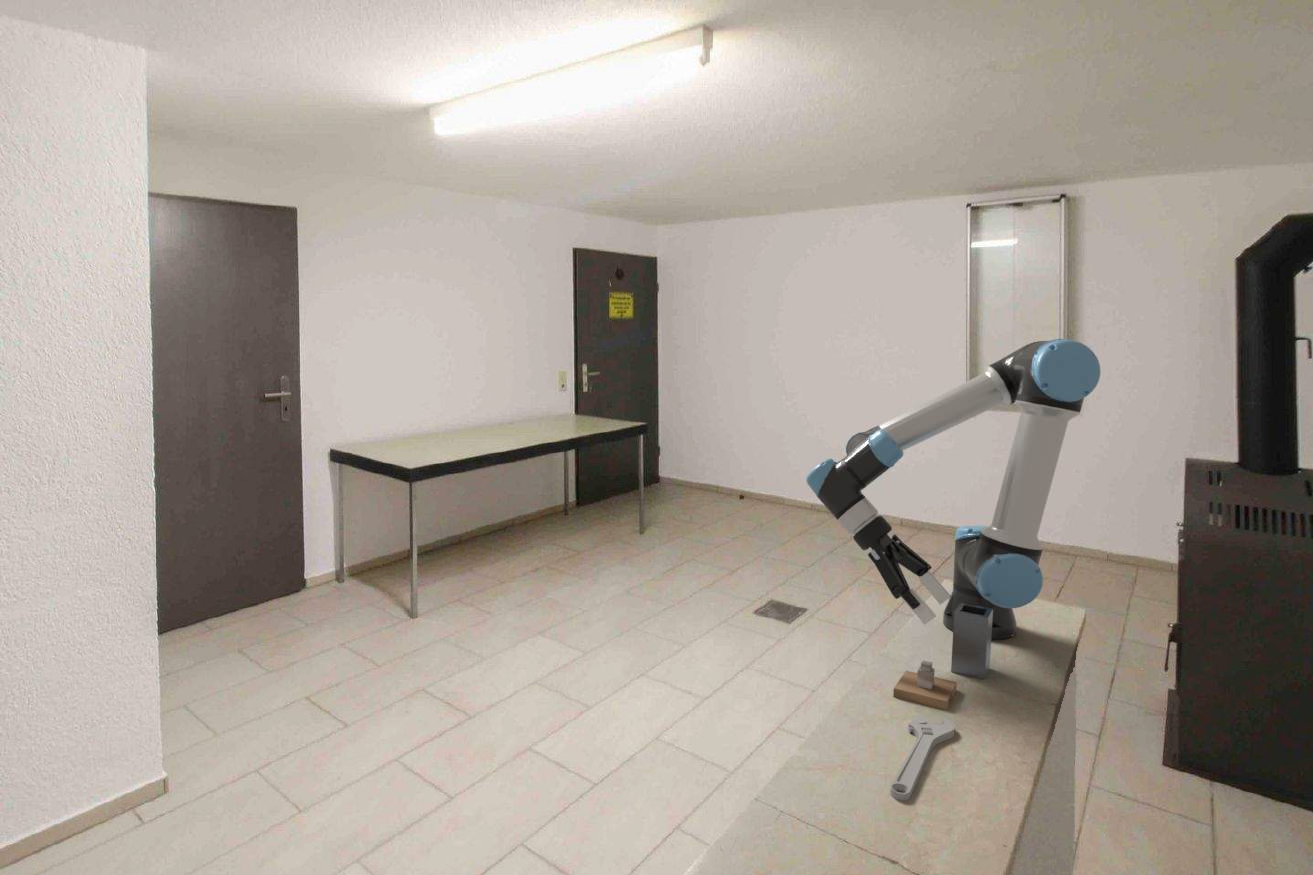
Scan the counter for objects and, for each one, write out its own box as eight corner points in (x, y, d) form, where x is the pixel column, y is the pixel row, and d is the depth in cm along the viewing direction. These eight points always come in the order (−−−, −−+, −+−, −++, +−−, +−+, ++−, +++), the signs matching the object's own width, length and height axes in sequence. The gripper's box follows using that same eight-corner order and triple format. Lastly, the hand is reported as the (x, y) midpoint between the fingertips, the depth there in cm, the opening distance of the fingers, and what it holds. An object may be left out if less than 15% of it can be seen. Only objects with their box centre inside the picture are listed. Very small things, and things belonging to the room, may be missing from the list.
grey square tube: (957, 661, 145) (960, 602, 143) (989, 668, 141) (993, 608, 140) (951, 671, 140) (954, 611, 138) (984, 679, 136) (988, 617, 135)
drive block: (905, 680, 137) (907, 648, 136) (956, 692, 132) (957, 659, 131) (893, 698, 129) (894, 665, 128) (946, 712, 124) (948, 677, 124)
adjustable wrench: (907, 807, 98) (908, 794, 98) (861, 790, 102) (862, 778, 102) (958, 731, 118) (958, 720, 118) (918, 719, 122) (918, 709, 121)
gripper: (870, 524, 161) (937, 603, 154) (831, 548, 140) (907, 640, 133) (895, 504, 157) (965, 583, 151) (860, 525, 137) (939, 618, 130)
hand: (938, 610), depth 142 cm, fingers open, 13 cm apart
